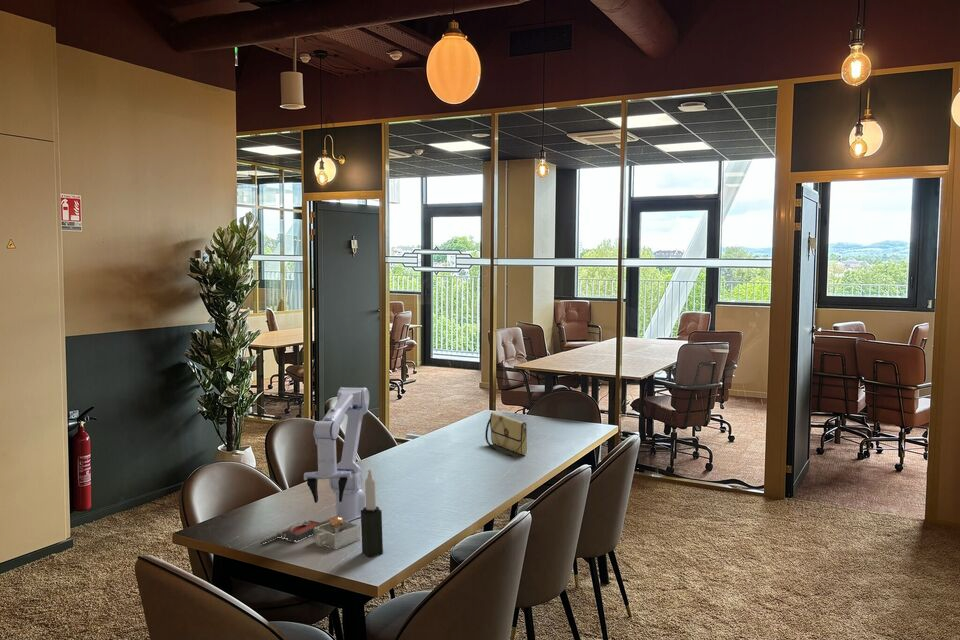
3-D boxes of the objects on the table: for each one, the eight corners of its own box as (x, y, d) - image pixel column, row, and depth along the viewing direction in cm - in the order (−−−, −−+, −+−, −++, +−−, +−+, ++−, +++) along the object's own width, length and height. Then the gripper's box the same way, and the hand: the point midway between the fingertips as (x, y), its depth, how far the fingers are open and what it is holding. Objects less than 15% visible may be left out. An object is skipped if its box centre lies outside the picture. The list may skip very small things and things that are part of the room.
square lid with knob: (338, 533, 232) (337, 512, 232) (355, 538, 228) (354, 517, 227) (318, 540, 226) (318, 519, 226) (335, 546, 222) (334, 524, 221)
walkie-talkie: (304, 526, 241) (258, 547, 224) (304, 513, 241) (257, 533, 224) (325, 531, 237) (279, 553, 220) (324, 517, 237) (278, 538, 219)
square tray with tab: (339, 532, 234) (338, 518, 234) (360, 539, 228) (359, 525, 227) (308, 544, 225) (307, 529, 224) (329, 551, 218) (329, 537, 218)
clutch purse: (481, 445, 343) (480, 413, 342) (494, 443, 346) (493, 411, 345) (516, 459, 317) (516, 424, 316) (530, 456, 321) (529, 422, 320)
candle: (368, 557, 213) (365, 473, 211) (360, 552, 217) (357, 469, 216) (384, 553, 216) (381, 469, 214) (376, 548, 220) (373, 466, 219)
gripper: (301, 462, 228) (302, 506, 228) (348, 461, 228) (349, 504, 229) (305, 457, 235) (307, 499, 236) (351, 455, 235) (353, 497, 236)
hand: (328, 501), depth 233 cm, fingers open, 7 cm apart
